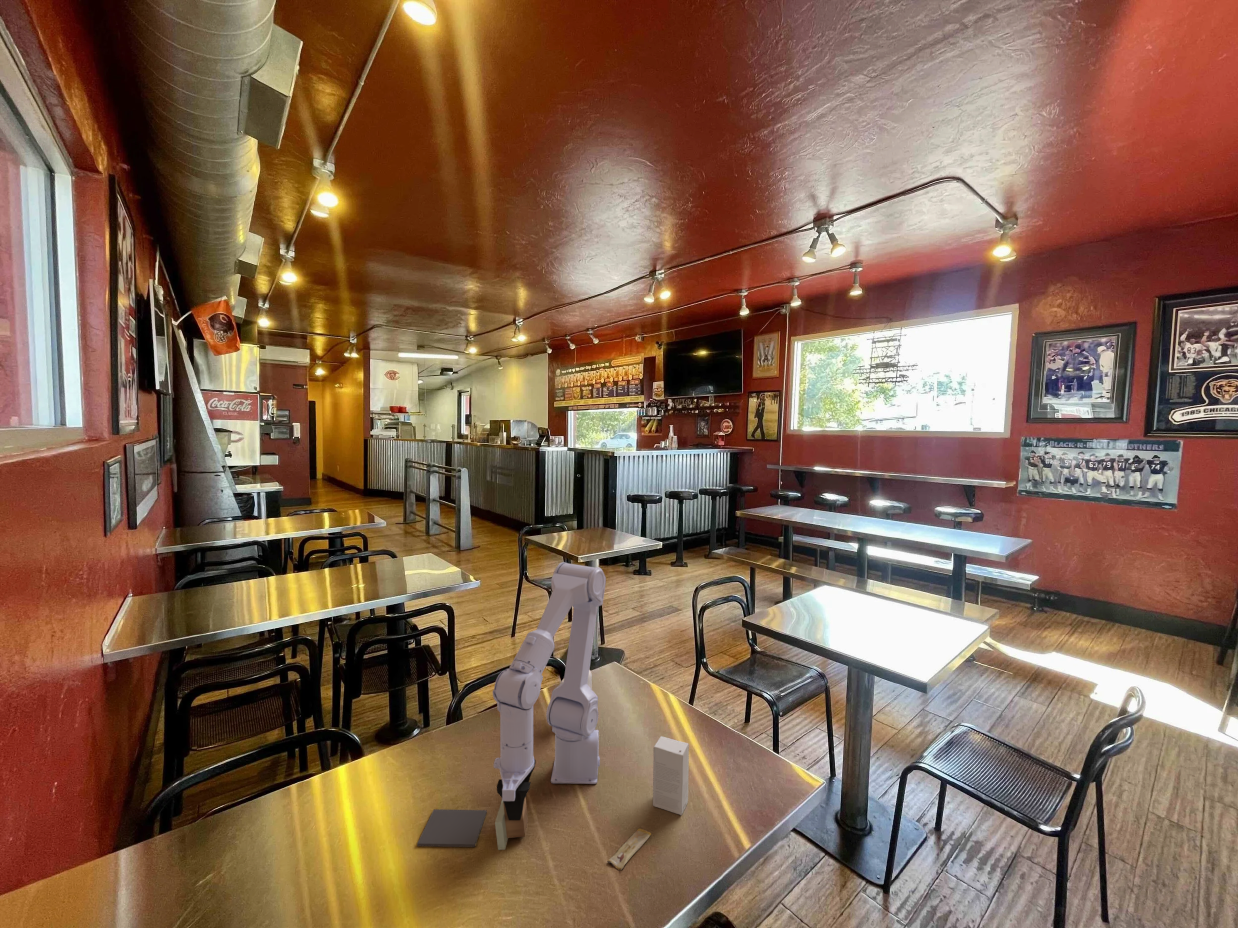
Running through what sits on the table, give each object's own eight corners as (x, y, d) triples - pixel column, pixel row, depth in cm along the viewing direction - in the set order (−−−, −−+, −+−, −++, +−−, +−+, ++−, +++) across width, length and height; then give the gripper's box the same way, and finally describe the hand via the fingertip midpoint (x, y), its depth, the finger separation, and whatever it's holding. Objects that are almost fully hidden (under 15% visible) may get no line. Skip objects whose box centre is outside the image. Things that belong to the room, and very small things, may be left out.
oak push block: (528, 822, 94) (524, 785, 93) (525, 836, 91) (521, 798, 90) (510, 823, 94) (506, 787, 93) (506, 837, 91) (503, 799, 90)
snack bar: (637, 826, 94) (651, 828, 92) (640, 835, 94) (653, 837, 92) (605, 860, 86) (619, 863, 85) (607, 870, 86) (621, 873, 84)
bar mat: (486, 812, 97) (486, 809, 97) (474, 846, 89) (474, 844, 89) (433, 811, 97) (433, 809, 97) (417, 845, 89) (417, 843, 89)
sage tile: (513, 818, 96) (510, 792, 95) (505, 849, 89) (501, 821, 88) (505, 819, 96) (502, 793, 95) (497, 849, 89) (494, 822, 88)
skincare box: (688, 801, 101) (690, 743, 100) (681, 816, 97) (683, 755, 96) (659, 792, 103) (660, 734, 103) (651, 806, 100) (652, 746, 99)
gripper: (503, 714, 98) (503, 782, 99) (483, 763, 84) (483, 842, 85) (540, 714, 98) (540, 782, 99) (526, 764, 84) (526, 843, 85)
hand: (516, 810), depth 92 cm, fingers closed on oak push block, 3 cm apart
